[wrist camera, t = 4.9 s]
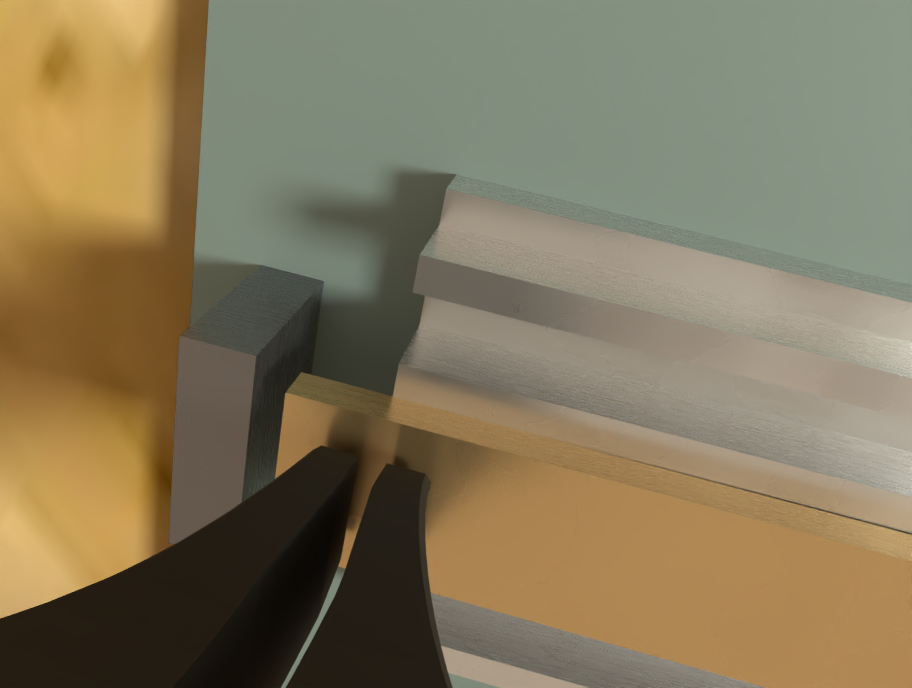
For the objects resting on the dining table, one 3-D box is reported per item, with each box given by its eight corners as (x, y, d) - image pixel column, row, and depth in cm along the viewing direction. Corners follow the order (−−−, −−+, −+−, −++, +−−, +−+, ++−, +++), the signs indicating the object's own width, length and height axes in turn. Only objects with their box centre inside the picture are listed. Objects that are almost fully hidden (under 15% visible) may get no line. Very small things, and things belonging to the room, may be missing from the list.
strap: (1036, 728, 13) (1063, 777, 13) (284, 517, 14) (264, 550, 13) (1140, 592, 12) (1178, 637, 11) (303, 369, 13) (282, 396, 12)
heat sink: (923, 730, 17) (993, 899, 14) (234, 538, 18) (157, 655, 15) (1180, 350, 13) (1356, 469, 10) (274, 129, 14) (180, 175, 11)
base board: (878, 864, 20) (890, 906, 19) (187, 663, 21) (168, 694, 20) (1496, 1, 11) (1573, 4, 10) (252, -261, 12) (224, -279, 11)
